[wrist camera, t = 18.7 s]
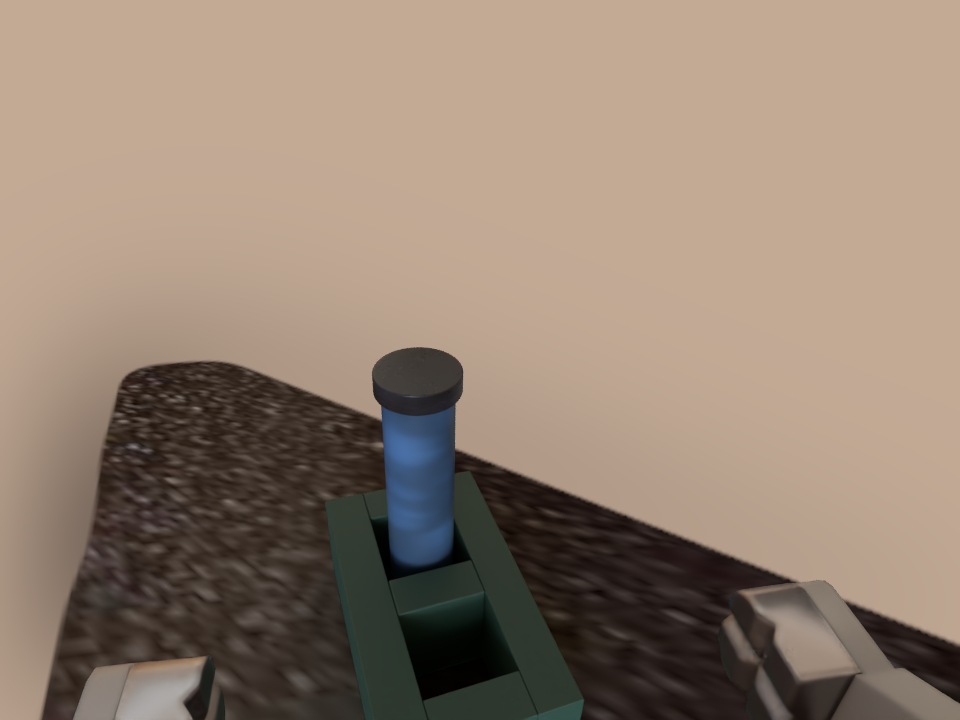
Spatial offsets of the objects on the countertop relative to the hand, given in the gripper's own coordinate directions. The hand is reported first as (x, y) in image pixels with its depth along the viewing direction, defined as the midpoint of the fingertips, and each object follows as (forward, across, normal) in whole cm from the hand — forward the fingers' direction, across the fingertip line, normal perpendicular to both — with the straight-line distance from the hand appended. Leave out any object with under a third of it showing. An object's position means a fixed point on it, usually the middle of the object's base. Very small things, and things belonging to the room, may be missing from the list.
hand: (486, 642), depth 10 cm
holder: (+14, -1, +21) cm, 25 cm away
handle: (+17, 0, +21) cm, 27 cm away
